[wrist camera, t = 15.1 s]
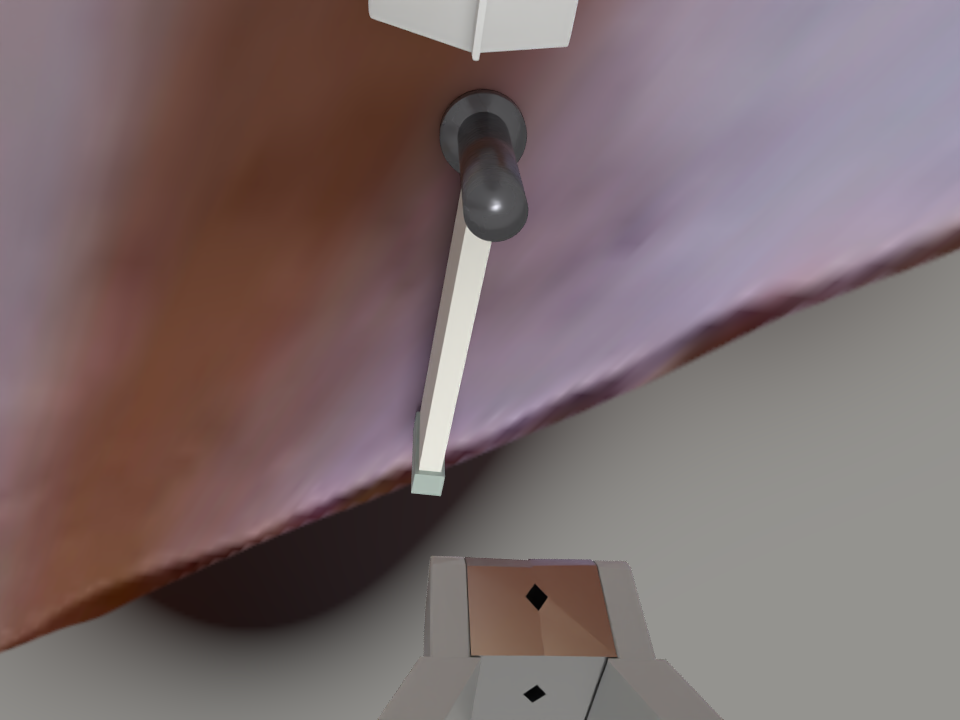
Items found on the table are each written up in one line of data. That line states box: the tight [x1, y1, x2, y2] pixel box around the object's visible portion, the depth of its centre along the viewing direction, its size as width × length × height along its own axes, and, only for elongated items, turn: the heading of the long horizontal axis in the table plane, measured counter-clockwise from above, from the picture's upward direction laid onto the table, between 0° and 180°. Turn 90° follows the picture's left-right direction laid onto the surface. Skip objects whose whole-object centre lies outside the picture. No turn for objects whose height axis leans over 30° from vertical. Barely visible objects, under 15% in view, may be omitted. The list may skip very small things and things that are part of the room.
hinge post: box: [440, 89, 528, 242], centre depth 38 cm, size 5×5×11 cm
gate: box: [411, 191, 491, 496], centre depth 46 cm, size 20×2×6 cm, turn 169°
